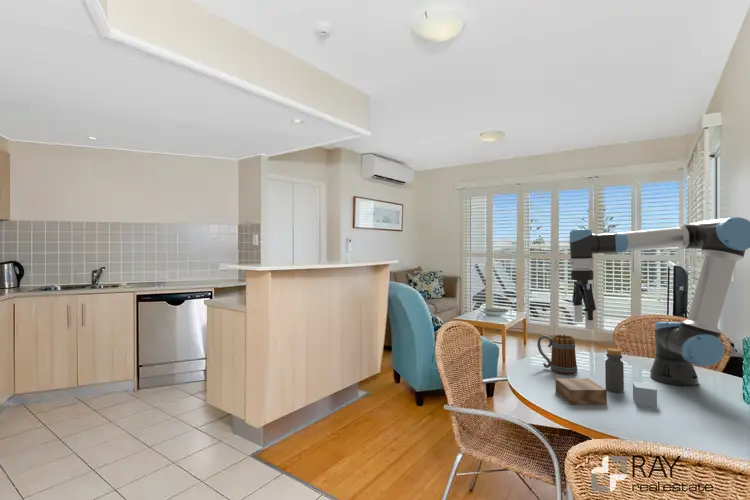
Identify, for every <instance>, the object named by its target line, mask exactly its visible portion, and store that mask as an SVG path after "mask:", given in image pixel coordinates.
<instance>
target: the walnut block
mask: <svg viewBox="0 0 750 500" xmlns="http://www.w3.org/2000/svg"><path fill="white" fill-rule="evenodd" d="M554 381H555V393H556V394H557V395H559V397H561V398H562V399H563V400H564V401H566V402H567V403H568V404H569V405H571V406H572V405H573V406H585V405H586V406H595V405H597V406H607V405H608V401H607V399H608V397H607V395H608V394H607V393H608V392H607V391H608V390H607V389H606V388H605V387H603V386H601V385H599V384H598V383H597V382H595V381H593V380H591V379H590V378H586V377H585V378H584V377H583V378H580V377H579V378H577V377H576V378H559V377H558V378H555V380H554Z"/></svg>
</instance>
